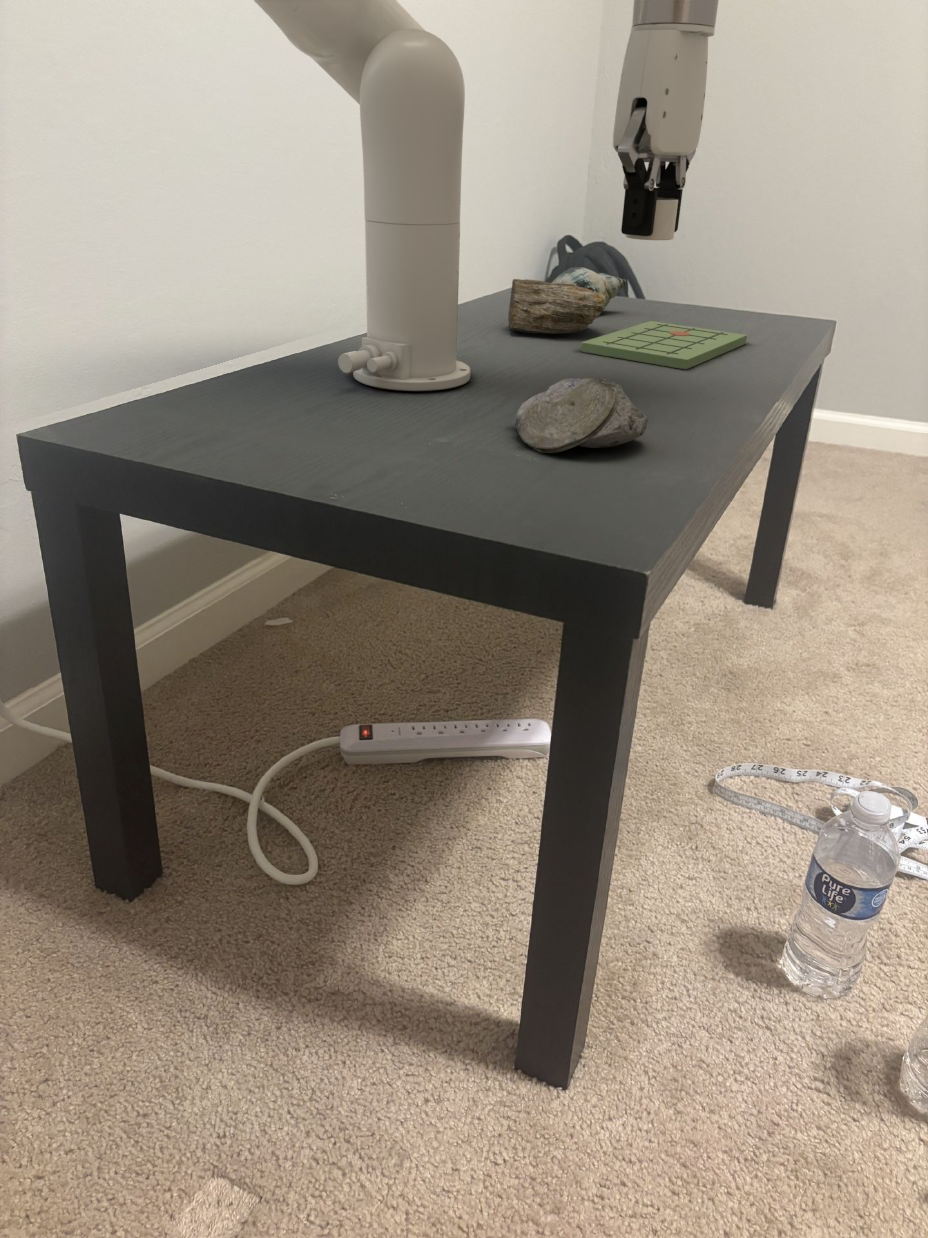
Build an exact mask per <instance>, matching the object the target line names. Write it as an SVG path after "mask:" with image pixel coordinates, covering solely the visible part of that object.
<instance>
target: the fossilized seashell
mask: <svg viewBox="0 0 928 1238" xmlns="http://www.w3.org/2000/svg"><path fill="white" fill-rule="evenodd" d="M648 422H649V420H648V417H647V416H646V413H644V412H643V411H641V410H638V409H637V407H636V406H635V405H634V404H633V403H632V402H631V399H630V398H629V397H628V395H626V394H625V392H624V389H623V387H622V385H620V384H618V383H617V382H616V381H615V382H614V381H613V380H609V379H603V378H601V377H592V376H591V377H585V378H572V377H569V378H565V379H561V380H560V381H558V382H556V383H554V384H551V385H550V386H549V388H548V389H547V390H546V391H543V392H539V393H537V394H535V395H532V396H531V397H530V398H529V399H527V400H526V401H523V402H522V403H521V405H520V406H519V407H518V410H517V412H516V417H515V423H514V425H515V426H516V431H517V433H518V435H519V437H520V438H521V440H522V441H523V442H524V443H525V444H527V445H528V447H530V448H532V449H533V450H534V451H537V452H539V453H544V454H545V453H546V454H554V453H560V452H564V451H568V450H570V449H572V448H575V447H577V446H579V447H581V448H587V449H588V448H590V449H604V448H612V447H616V446H621V445H623V444H626V443H629V442H631V441H634V440H635V439H638V438H640V437H642V436H643V435H644V434H645V433H646V430H647V428H648Z"/></svg>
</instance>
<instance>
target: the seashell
mask: <svg viewBox="0 0 928 1238" xmlns="http://www.w3.org/2000/svg"><path fill="white" fill-rule="evenodd" d="M553 282H555V283H564V284H573V285H576V286H578V287H583V288H587V289H590V290H591V291H595V292H600V293H602V294H603V295H604V296H605V302H606V304H605V308H606V307H608V305H609V303H610V301H611V299H614V298H616V297H617V295H618V294H619V291H620V290H622V288H623V287H624V286H625V285H626V284H627V280H626V279H625V278H620V277H618V276H616V275H610V274H608V273H606V272H598V273H597V272H596V271H594V270H592V269H589V268H586V267H583V266H575V267H570V268H567V269H565V270H564V271H563V272H561V273H560V274H558V276H556V277H555V278H554V279H553V281H552V282H551V283H553Z"/></svg>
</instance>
